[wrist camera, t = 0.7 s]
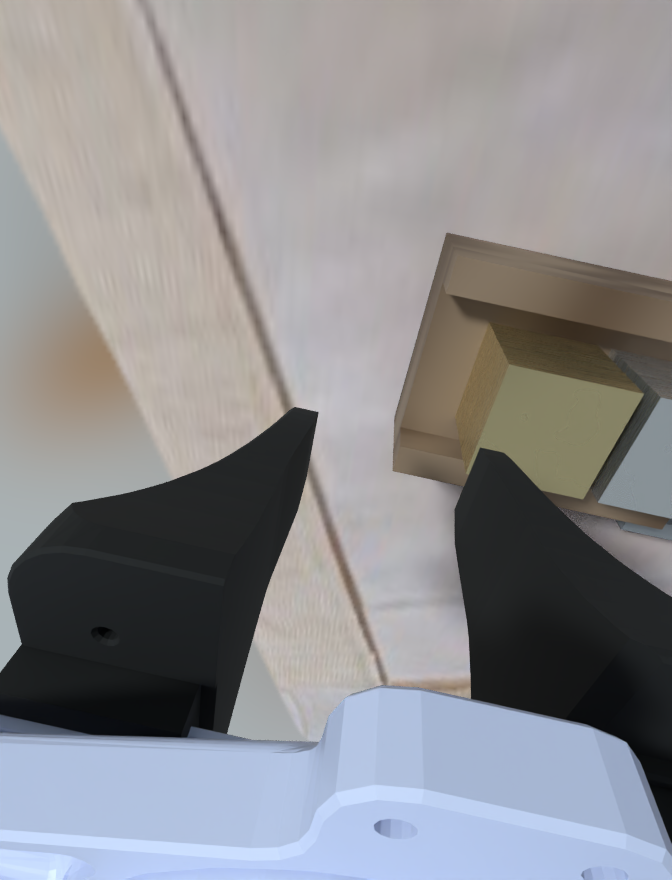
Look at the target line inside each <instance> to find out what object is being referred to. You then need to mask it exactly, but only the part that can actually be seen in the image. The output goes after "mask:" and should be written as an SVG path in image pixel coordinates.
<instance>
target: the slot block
mask: <svg viewBox="0 0 672 880" xmlns="http://www.w3.org/2000/svg"><path fill="white" fill-rule="evenodd" d="M489 322H492V323H496V324H501V325H506V326H510V327H515V328H520V329H524V330H529V331H533V332H538V333H543V334H547V335H552V336H556V337H561V338H566V339H570V340H575V341H580V342H584V343H589V344H593V345H598V346H599V347H600V348H601V349H602V350H603V351H604V352H605V353H606V354H607V356H608V354H609V352H610V351H611V349H616V350H621V351H626V352H630V353H635V354H640V355H644V356H649V357H653V358H658V359H663V360H667V361H672V281H668V280H663V279H659V278H654V277H649V276H645V275H640V274H636V273H631V272H626V271H622V270H617V269H612V268H608V267H603V266H598V265H594V264H589V263H585V262H580V261H575V260H571V259H566V258H561V257H557V256H552V255H547V254H543V253H538V252H534V251H529V250H524V249H520V248H515V247H510V246H506V245H501V244H496V243H492V242H487V241H483V240H478V239H473V238H469V237H464V236H459V235H455V234H450V233H447V234H446V237H445V241H444V244H443V248H442V251H441V255H440V258H439V262H438V265H437V269H436V272H435V276H434V280H433V283H432V287H431V290H430V294H429V297H428V301H427V304H426V308H425V311H424V315H423V318H422V322H421V326H420V329H419V333H418V336H417V340H416V343H415V347H414V350H413V354H412V357H411V361H410V365H409V368H408V372H407V375H406V379H405V382H404V386H403V389H402V393H401V396H400V400H399V403H398V407H397V411H396V414H395V419H394V448H393V471H395V472H400V473H404V474H409V475H413V476H418V477H423V478H427V479H432V480H436V481H441V482H445V483H450V484H455V485H459V486H465V483H466V481H467V478H468V476H469V474H466V473H465V468H464V462H463V457H462V452H461V446H460V441H459V435H458V430H457V425H456V419H455V416H456V413H457V410H458V407H459V404H460V402H461V399H462V396H463V393H464V390H465V388H466V385H467V382H468V379H469V377H470V374H471V371H472V368H473V365H474V363H475V360H476V357H477V354H478V351H479V349H480V346H481V343H482V340H483V337H484V335H485V332H486V329H487V326H488V323H489ZM541 491H542V490H541ZM542 492H543V493H544V494H545V495H546V496H547V497H548V498H549V499H550V500H551V501H552V502H553V503H554V504H555V505H556V506H557V507H560V508H564V509H569V510H574V511H578V512H583V513H587V514H592V515H596V516H601V517H606V518H610V519H615V520H619V521H624V522H629V523H633V524H638V525H642V526H647V527H651V528H656V529H661V530H662V529H663V527H664V526H665V525H666V523H667V522H668V520H669V519H670V518H666V517H661V516H657V515H652V514H647V513H643V512H638V511H634V510H629V509H624V508H620V507H615V506H611V505H606V504H602V503H598V502H597V500H596V499H595V497H594V495H593V493H592V491H591V489H590V488H589V490H588V492H587V493H586V495H585V497H584V499H579V498H574V497H570V496H565V495H560V494H556V493H551V492H547V491H542Z"/></svg>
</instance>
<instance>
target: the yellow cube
mask: <svg viewBox="0 0 672 880" xmlns="http://www.w3.org/2000/svg"><path fill="white" fill-rule="evenodd" d="M643 395H644V393H643V392H642V391H641V390H640V389H639V388H638V387H637V386H636V385H635V384H634V383H633V382H632V381H631V380H630V379H629V378H628V376H627V375H626V374H625V373H624V372H623V371H622V370H621V369H620V368H619V367H618V366H617V365H616V364H615V363H614V362H613V361H612V360H611V359H610V358H609V357H608V356H607V354H606V353H605V352H604V351H603V350H602V349H601V348H600V347H599V346H598V345H593V344H589V343H584V342H580V341H575V340H570V339H566V338H561V337H556V336H552V335H547V334H543V333H538V332H533V331H529V330H524V329H520V328H515V327H510V326H506V325H501V324H496V323H492V322H489V323H488V326H487V329H486V332H485V335H484V337H483V340H482V343H481V346H480V349H479V351H478V354H477V357H476V360H475V363H474V365H473V368H472V371H471V374H470V377H469V379H468V382H467V385H466V388H465V390H464V393H463V396H462V399H461V402H460V404H459V407H458V410H457V413H456V416H455V419H456V425H457V430H458V435H459V441H460V446H461V452H462V457H463V462H464V468H465V473H466V474H469V473H470V471H471V468H472V466H473V463H474V461H475V458H476V456H477V453H478V451H479V449H480V448H485V449H490V450H494V451H499V452H503V453H505V454H506V455H507V456H508V457H509V458H511V459H512V460H513V461H514V462H515V463H516V464H517V466H518V467H519V468H520V469H521V470H522V471H523V472H524V473H525V474H526V475H527V476H528V477H529V478H530V479H531V480H532V482H533V483H534V484H535V485H536V486H537V487H538V488H539V489H540V490H542V491H547V492H551V493H556V494H560V495H565V496H570V497H574V498H579V499H584V497H585V495H586V493H587V492H588V490H589V488H590V487H591V485H592V483H593V481H594V480H595V478H596V476H597V474H598V473H599V471H600V469H601V468H602V466H603V464H604V462H605V461H606V459H607V457H608V455H609V454H610V452H611V450H612V449H613V447H614V445H615V443H616V442H617V440H618V438H619V436H620V435H621V433H622V431H623V430H624V428H625V426H626V424H627V423H628V421H629V419H630V417H631V416H632V414H633V412H634V411H635V409H636V407H637V405H638V404H639V402H640V400H641V398H642V397H643Z"/></svg>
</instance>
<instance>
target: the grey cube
mask: <svg viewBox="0 0 672 880" xmlns="http://www.w3.org/2000/svg"><path fill="white" fill-rule="evenodd" d="M608 357H609V358H610V359H611V360H612V361H613V362H614V363H615V364H616V365H617V366H618V367H619V368H620V369H621V370H622V371H623V372H624V373H625V374H626V375H627V376H628V378H629V379H630V380H631V381H632V382H633V383H634V384H635V385H636V386H637V387H638V388H639V389H640V390H641V391H642V392H643V393H644V395H643V397H642V398H641V400H640V402H639V404H638V405H637V407H636V409H635V411H634V412H633V414H632V416H631V417H630V419H629V421H628V423H627V424H626V426H625V428H624V430H623V431H622V433H621V435H620V436H619V438H618V440H617V442H616V443H615V445H614V447H613V449H612V450H611V452H610V454H609V455H608V457H607V459H606V461H605V462H604V464H603V466H602V468H601V469H600V471H599V473H598V474H597V476H596V478H595V480H594V481H593V483H592V485H591V487H590V489H591V491H592V493H593V495H594V497H595V499H596V500H597V502H598V503H602V504H606V505H611V506H615V507H620V508H624V509H629V510H634V511H638V512H643V513H647V514H652V515H657V516H661V517H666V518H670V519H672V361H667V360H663V359H658V358H653V357H649V356H644V355H640V354H635V353H630V352H626V351H621V350H616V349H611V351H610V352H609V354H608Z"/></svg>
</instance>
